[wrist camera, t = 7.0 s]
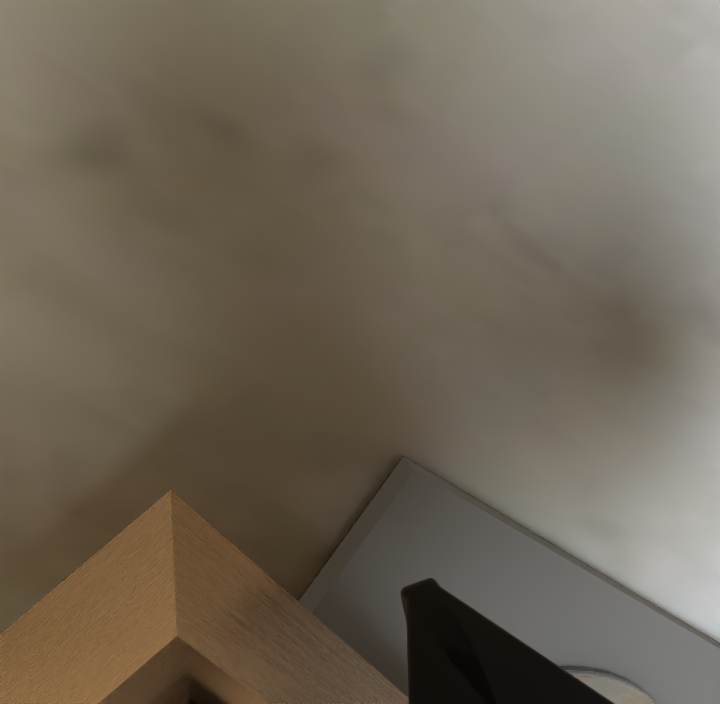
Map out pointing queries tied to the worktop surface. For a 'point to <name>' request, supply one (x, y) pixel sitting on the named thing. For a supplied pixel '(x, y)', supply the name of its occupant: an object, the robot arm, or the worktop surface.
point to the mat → (498, 592)
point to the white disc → (610, 685)
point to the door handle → (178, 629)
